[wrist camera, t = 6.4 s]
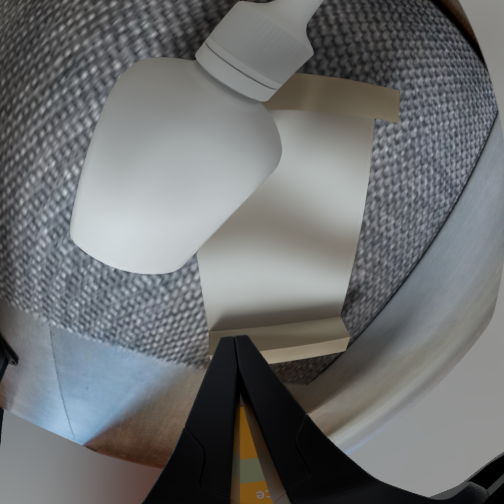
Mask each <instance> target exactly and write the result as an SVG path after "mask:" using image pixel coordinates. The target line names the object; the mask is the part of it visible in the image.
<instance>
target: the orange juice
mask: <svg viewBox="0 0 504 504" xmlns="http://www.w3.org/2000/svg"><path fill="white" fill-rule="evenodd" d="M294 398H295V397H294ZM295 399H296V398H295ZM240 504H273V502H272V499H271V496H270V493H269V490H268V487H267V484H266V481H265V478H264V475H263V472H262V469H261V466H260V462H259V459H258V456H257V453H256V449H255V446H254V443H253V439H252V436H251V433H250V429H249V426H248V422H247V419H246V415H245V411H244V408H243V407H241V409H240Z"/></svg>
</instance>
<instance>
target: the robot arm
mask: <svg viewBox="0 0 504 504" xmlns="http://www.w3.org/2000/svg"><path fill="white" fill-rule="evenodd" d="M8 364H11V365H15V366H17V364H18V360H17V359H16V358H15V356H14V355H13V354H12V353H11V351H10V350H9V349H8V347H7V346H6V344H5V343H4V342H3V340H2V339H1V337H0V383H1V380H2V378H3V375H4V373H5V370H6V368H7V366H8ZM240 395H241V400H242V404H243V408H244V411H245V415H246V419H247V422H248V426H249V429H250V433H251V436H252V439H253V443H254V446H255V449H256V453H257V456H258V459H259V462H260V466H261V469H262V472H263V475H264V478H265V481H266V484H267V487H268V490H269V493H270V496H271V499H272V502H273V504H504V452H503V453H502V454H500V455H498V456H497V457H495V458H494V459H493V460H491V461H490V462H489V463H487V464H486V465H485V466H483V467H482V468H480V469H479V470H478V471H477V472H475V473H474V474H473V475H472V476H470V477H469V478H468V479H467V480H465V481H464V482H463V483H461V484H460V485H458V486H456V487H454V488H452V489H449V490H447V491H444V492H442V493H439V494H437V495H434V496H431V497H425V496H422V495H418V494H415V493H412V492H409V491H406V490H403V489H400V488H398V487H395V486H392V485H390V484H387V483H384V482H382V481H380V480H378V479H376V478H374V477H373V476H371V475H370V474H369V473H367V472H366V471H365V470H363V469H362V468H361V467H360V466H359V465H357V464H356V463H355V462H354V461H353V460H351V459H350V458H349V457H348V456H347V455H346V454H345V453H343V452H342V451H341V450H340V449H339V448H338V447H337V446H336V445H335V444H334V443H333V442H332V441H331V440H330V439H328V438H327V437H326V436H325V434H324V433H323V432H322V431H321V430H320V429H319V428H318V426H317V425H316V424H315V423H314V422H313V421H312V419H311V418H310V417H309V416H308V415H306V412H305V411H304V409H303V408H302V407H301V406H300V404H299V403H298V402H297V400H296V399H295V398H294V397H293V395H292V394H291V393H290V391H289V390H288V389H287V388H286V386H285V385H284V384H283V382H282V381H281V380H280V378H279V377H278V376H277V374H276V373H275V372H274V370H273V369H272V368H271V366H270V365H269V364H268V362H267V361H266V359H265V358H264V357H263V355H262V354H261V353H260V351H259V350H258V348H257V347H256V346H255V344H254V343H253V341H252V340H251V339H250V337H249V336H248V335H247V334H242V335H235V337H234V336H232V335H231V336H222V337H220V339H219V342H218V344H217V347H216V349H215V352H214V354H213V356H212V359H211V361H210V364H209V366H208V369H207V371H206V374H205V376H204V379H203V381H202V384H201V386H200V389H199V391H198V394H197V396H196V399H195V401H194V403H193V406H192V408H191V411H190V413H189V416H188V418H187V421H186V423H185V427H184V428H183V430H182V433H181V435H180V438H179V440H178V442H177V444H176V447H175V449H174V451H173V453H172V455H171V457H170V458H169V460H168V462H167V464H166V466H165V467H164V469H163V471H162V473H161V474H160V476H159V477H158V479H157V481H156V482H155V484H154V486H153V487H152V489H151V490H150V492H149V494H148V495H147V497H146V498H145V500H144V501H143V502H142V504H240V409H241V402H240ZM3 413H4V409H2V408H1V407H0V443H1V430H2V421H3Z"/></svg>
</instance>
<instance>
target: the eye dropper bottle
mask: <svg viewBox="0 0 504 504" xmlns="http://www.w3.org/2000/svg"><path fill="white" fill-rule="evenodd" d="M323 1H324V0H275V1H272V2H268V3H255V2H247V1H239V2H237V3H236V4H235V5H234V6H233V7H232V9H231V10H230V11H229V12H228V13H227V14H226V15H225V17H224V18H223V19H222V20H221V21H220V23H219V24H218V25H217V26H216V27H215V29H214V30H213V31H212V32H211V34H210V35H209V36H208V38H207V39H206V41H204V43H203V44H202V45H201V47H200V48H199V49H198V51H197V52H196V54H195V57H196V59H197V60H194V61H191V60H186V59H179V58H170V57H153V58H147V59H143V60H140V61H138V62H136V63H134V64H133V65H132V66H130V67H129V68H128V69H127V70H126V71H125V72H124V73H123V74H122V75H121V76H120V78H119V79H118V80H117V82H116V83H115V85H114V86H113V88H112V90H111V92H110V93H109V95H108V98H107V100H106V102H105V105H104V107H103V109H102V112H101V114H100V117H99V119H98V122H97V124H96V127H95V130H94V133H93V136H92V139H91V142H90V145H89V148H88V151H87V155H86V158H85V161H84V165H83V169H82V172H81V176H80V180H79V184H78V188H77V193H76V197H75V202H74V207H73V212H72V218H71V224H70V235H71V237H72V239H73V241H74V242H75V244H76V245H78V246H79V247H80V248H81V249H82V250H83V251H85V252H86V253H88V254H89V255H91V256H92V257H94V258H95V259H97V260H99V261H101V262H103V263H105V264H107V265H109V266H112V267H114V268H117V269H120V270H124V271H128V272H133V273H141V274H163V273H169V272H174V271H176V270H178V269H179V268H181V267H182V266H183V265H184V264H185V263H186V262H187V261H188V260H189V259H190V258H191V257H192V256H193V255H194V254H195V252H196V251H197V250H198V249H199V248H200V247H201V246H202V245H203V244H204V243H205V242H206V241H207V240H208V239H209V238H210V237H211V236H212V235H213V234H214V233H215V232H216V231H217V230H218V229H219V228H220V226H221V225H222V224H223V223H224V222H225V221H226V220H227V219H228V218H229V217H230V216H231V215H232V214H233V213H234V212H235V211H236V210H237V209H238V208H239V207H240V206H241V205H242V204H243V203H244V202H245V201H246V200H247V199H248V198H249V197H250V196H251V195H252V194H253V193H254V192H255V191H256V190H257V189H258V188H259V187H260V186H261V185H262V183H263V182H264V181H265V180H266V179H267V178H268V177H269V176H270V175H271V174H272V173H273V172H274V170H275V169H276V168H277V167H278V165H279V163H280V160H281V155H282V143H281V138H280V134H279V131H278V129H277V126H276V124H275V122H274V120H273V118H272V117H271V115H270V114H269V112H268V111H267V110H266V108H265V107H264V106H263V105H262V103H261V101H263V102H266V101H268V100H269V99H270V98H271V97H272V96H273V95H274V93H275V92H276V91H277V90H278V89H279V88H280V87H281V86H282V85H283V84H284V83H285V82H286V81H287V80H288V79H289V78H290V77H291V76H292V75H293V74H294V73H295V72H296V71H297V70H298V69H299V68H300V67H301V66H302V65H303V64H304V63H305V62H306V61H307V60H308V59H309V58H310V57H311V56H312V55H313V48H312V46H311V44H310V42H309V40H308V38H307V34H306V27H307V24H308V22H309V20H310V19H311V17H312V16H313V14H314V13H315V12H316V10H317V9H318V8H319V6H320V5H321V4H322V2H323Z"/></svg>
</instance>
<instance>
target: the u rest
mask: <svg viewBox="0 0 504 504" xmlns="http://www.w3.org/2000/svg"><path fill="white" fill-rule="evenodd" d="M261 103H262V105H263V106H264V107H265V108H266V110H267V111H268V112H269V114H270V115H271V117H272V118H273V120H274V122H275V124H276V126H277V129H278V131H279V134H280V138H281V143H282V155H281V160H280V163H279V165H278V167H277V168H276V169H275V170H274V172H273V173H272V174H271V175H270V176H269V177H268V178H267V179H266V180H265V181H264V182H263V183H262V185H261V186H260V187H259V188H258V189H257V190H256V191H255V192H254V193H253V194H252V195H251V196H250V197H249V198H248V199H247V200H246V201H245V202H244V203H243V204H242V205H241V206H240V207H239V208H238V209H237V210H236V211H235V212H234V213H233V214H232V215H231V216H230V217H229V218H228V219H227V220H226V221H225V222H224V223H223V224H222V225H221V226H220V228H219V229H218V230H217V231H216V232H215V233H214V234H213V235H212V236H211V237H210V238H209V239H208V240H207V241H206V242H205V243H204V244H203V245H202V246H201V247H200V248H199V249H198V250H197V258H198V265H199V272H200V279H201V286H202V293H203V299H204V306H205V312H206V318H207V324H208V330H209V354H210V360H211V359H212V356H213V354H214V352H215V349H216V347H217V344H218V342H219V339H220V337H222V336H231V335H232V336H234V337H235V335H242V334H247V335H248V336H249V337H250V339H251V340H252V341H253V343H254V344H255V346H256V347H257V348H258V350H259V351H260V353H261V354H262V355H263V357H264V358H265V359H266V361H267V362H268V364H271V363H279V362H286V361H293V360H299V359H305V358H311V357H317V356H322V355H327V354H332V353H337V352H342V351H345V350H346V348H347V345H348V342H349V340H350V335H349V333H348V331H347V329H346V327H345V325H344V323H343V321H342V319H341V317H340V315H341V311H342V308H343V304H344V300H345V296H346V292H347V288H348V284H349V280H350V276H351V272H352V268H353V263H354V259H355V254H356V250H357V245H358V240H359V235H360V230H361V224H362V219H363V213H364V207H365V201H366V195H367V188H368V181H369V173H370V165H371V157H372V147H373V137H374V125H375V119H380V120H385V121H391V122H396V123H398V120H399V105H400V91H398V90H395V89H391V88H387V87H382V86H378V85H374V84H369V83H364V82H359V81H354V80H348V79H342V78H336V77H329V76H321V75H313V74H303V73H294V74H293V75H292V76H291V77H290V78H289V79H288V80H287V81H286V82H285V83H284V84H283V85H282V86H281V87H280V88H279V89H278V90H277V91H276V92H275V93H274V95H273V96H272V97H271V98H270V99H269V100H268V101H266V102H263V101H261Z"/></svg>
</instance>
